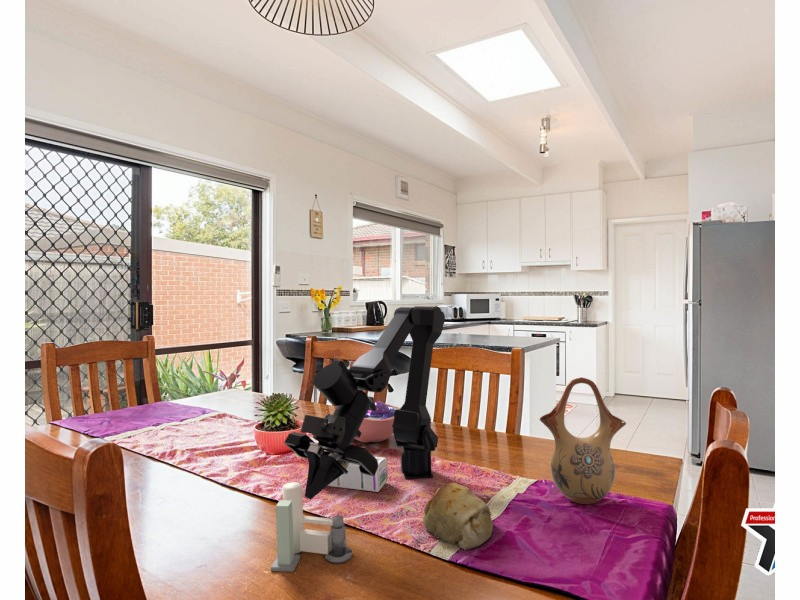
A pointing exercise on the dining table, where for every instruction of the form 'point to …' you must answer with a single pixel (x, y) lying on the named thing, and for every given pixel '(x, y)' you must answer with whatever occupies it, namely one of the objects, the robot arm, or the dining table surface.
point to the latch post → (285, 538)
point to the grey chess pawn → (338, 547)
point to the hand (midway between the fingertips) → (307, 498)
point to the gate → (305, 537)
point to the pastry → (458, 516)
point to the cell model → (377, 423)
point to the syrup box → (363, 477)
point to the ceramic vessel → (582, 452)
